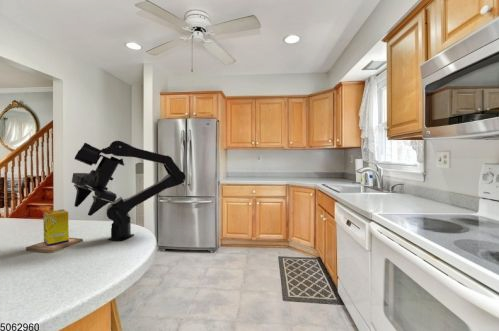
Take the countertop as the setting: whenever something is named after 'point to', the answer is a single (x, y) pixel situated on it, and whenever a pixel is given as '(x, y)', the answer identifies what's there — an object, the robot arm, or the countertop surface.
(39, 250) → the marked board
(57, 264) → the countertop surface
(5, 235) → the countertop surface
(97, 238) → the countertop surface
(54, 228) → the supplement box
